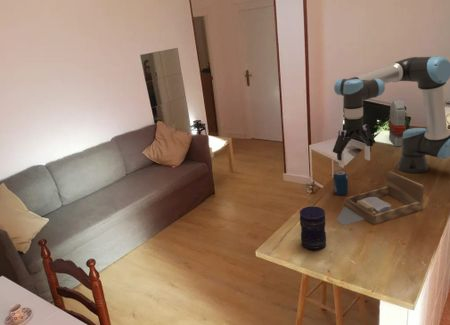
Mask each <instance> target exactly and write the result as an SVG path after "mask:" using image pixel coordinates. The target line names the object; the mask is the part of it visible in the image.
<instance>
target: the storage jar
mask: <svg viewBox="0 0 450 325" xmlns="http://www.w3.org/2000/svg"><path fill="white" fill-rule="evenodd" d="M299 224H300V229H301V232H300V240H301V246H302V248H303V249H305V250H307V251H310V252H319V251H323V250H324V249H325V248H326V247H327V242H326V241H327V235H326V211H325V210H324V209H323V208H321V207H319V206H306V207H304V208H303V207H302V208H301V210H300V211H299Z"/></svg>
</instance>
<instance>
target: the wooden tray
mask: <svg viewBox="0 0 450 325" xmlns="http://www.w3.org/2000/svg"><path fill="white" fill-rule="evenodd" d="M386 174H387V176H386V177H387V178H386V179H387V180H386V186H383V187H380V188H375V189H373V190H368V191H366V192H362V193H359V194H354V195H351V196H347V197H344V199H343V200H344V207H345V206H346V207H347V208H349V209H350V210H352V211H353V212H355V213H356V214H358V215H359V216H361V217H362V218H364V219H365V221H367V222H369V223H371V224H372V225H373V226H374V225H377V224H379V223H384V222H387V221H390V220H393V219H396V218H400V217H403V216H406V215H409V214H412V213H417V212H419V211H423V200H424V190H425V189H424V187H425V186H424V184H421V183H419V182H417V181H414V180H412V179H409V178H407V177H405V176H402V175H400V174H398V173H396V172H394V171H391V170H388V171H387V173H386ZM388 195H389V196H391V197H393V198H395V199H397V200H399V202H400V201H401V202H402V203H404V204H405V205H401V206H398V207H395V208H391V210H388V211H384V212H381V213H378V214H375V215H374V214H372V213H371V212H369V211H368V210H366V209H364V208H363V207H361V206H359V205H358V204H357V201H359V200H363V199H365V198H368V197H377V198H381V197H385V196H388Z"/></svg>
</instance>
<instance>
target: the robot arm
mask: <svg viewBox="0 0 450 325" xmlns="http://www.w3.org/2000/svg"><path fill="white" fill-rule="evenodd" d="M449 79H450V60H449V59H448V58H445V57H444V56H438V55H437V56H436V55H435V56H414V57H413V56H412V57H408V58H404V59H400V60H397V61H394V62H391V63H389V64H388V65H387V66H385V67H383V68H379V69H376V70H373V71H370V72H366V73H363V74H360V75H356V76H353V77H350V78H340V79H337V80H336V81H335V83H334V92H335V94H336V95H338V96H341V97H343V110H344V112H343V113H344V114H343V116H344V118H343V119H344V122H343V123H344V127H345V128H344V130H338V133H337V134H338V136H337V139H336V140H335V144H334V145H333V149H332V153H335V154H336V159H337V161H338V166H339V167H340V168H345V157H344V155H345V154H344V153H343V152H344V151H345V150H346V147H347V145H348V144H349V142H350V141H351V140H354V139H355V138H357V139H358V138H359V139H360V140H362V141H363V143H365V144H364V159H365V160H367V161H371V153H372V147H373V146H374V144H376V140H375V138H374V136H373V133H372V132H371V130H370V125H368V124H365V123H364V117H363V116H364V101H367V100H370V99H374V98H377V97H380V96H382V95H383V94H384V93H385V89H386V86H385V85H386V84H388V83H399V82H413V83H414V82H415V83H417V89H419V90H421V93H422V99H423V107H424V115H425V123H426V124H425V125H426V128H425V127H414V128H409V129H405V131H404V132H403V138H402V146H401V156H400V158H399V161H398V163H397V169H398V170H399V171H402V172H404V173H409V174H410V173H411V174H419V173H421V174H422V173H425V172H427V171H428V168H429V164H428V162H427V158H426V156H430V157H431V156H432V157H434V158H438V159H444V160H445V159H448V158H450V129H448V128H447V118H446V105H445V96H444V95H445V94H444V86H445V85H447V81H449ZM363 131H364V133H363Z"/></svg>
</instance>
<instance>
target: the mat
mask: <svg viewBox="0 0 450 325" xmlns="http://www.w3.org/2000/svg"><path fill="white" fill-rule="evenodd" d="M364 220H365V221H366V219H364V218H363V217H361V216H360V215H358V214H357V213H355V212H354V211H352V210H351V209H349V208H348V207H346V206H345V205H344V206H343V208H342V210H341V212H340V214H339V215H338V216H337V218H336V222H338V223H340V225H341V226H347V225H348V226H349V225H350V224H354V223H358V222H362V221H364Z"/></svg>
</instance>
